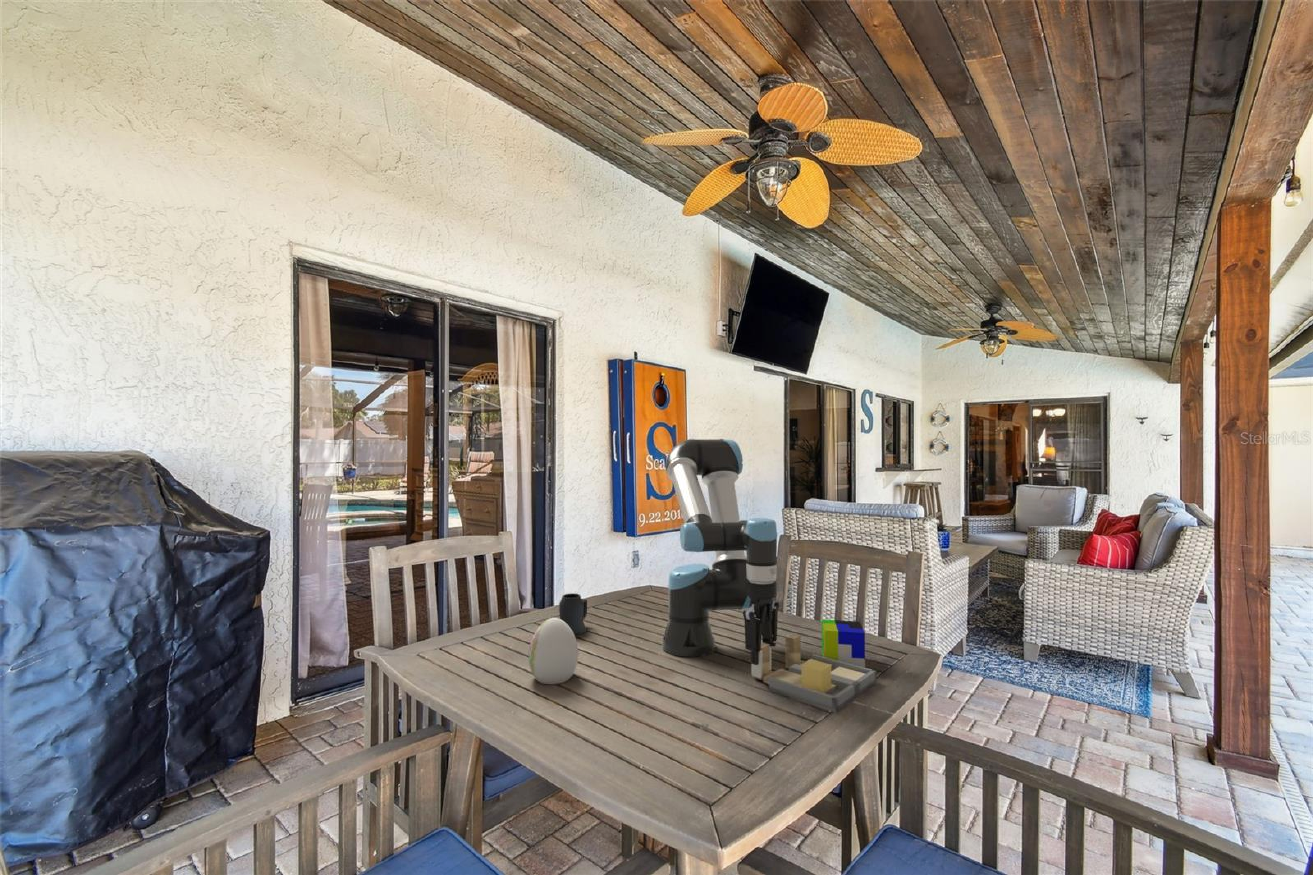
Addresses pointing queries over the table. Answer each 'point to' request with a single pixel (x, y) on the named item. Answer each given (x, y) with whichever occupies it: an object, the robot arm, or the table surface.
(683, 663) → the table surface
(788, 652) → the strip
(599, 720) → the table surface
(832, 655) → the puzzle toy
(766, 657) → the strip
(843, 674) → the board
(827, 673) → the cube
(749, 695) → the table surface
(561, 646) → the decorative egg
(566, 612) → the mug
